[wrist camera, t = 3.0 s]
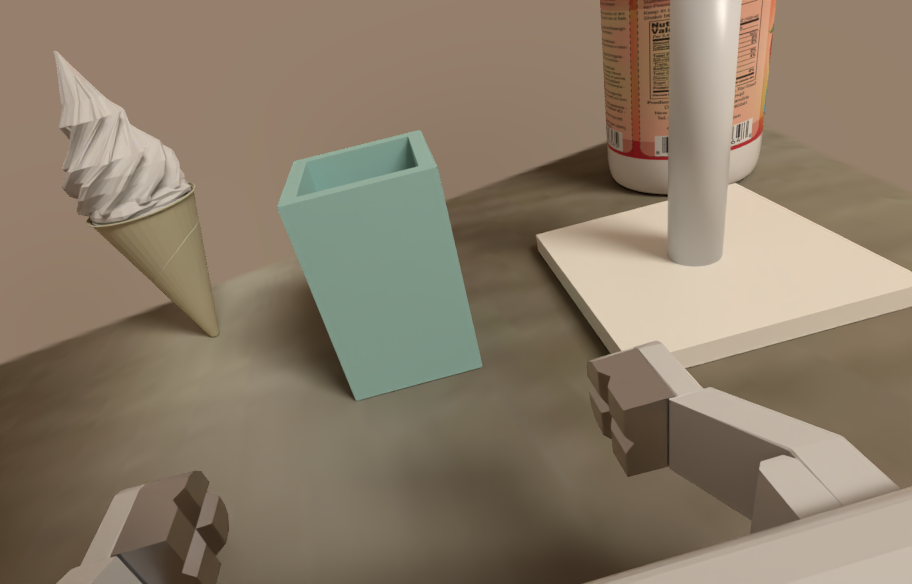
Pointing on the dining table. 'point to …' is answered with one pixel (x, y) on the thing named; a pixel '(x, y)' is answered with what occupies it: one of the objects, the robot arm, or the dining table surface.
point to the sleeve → (382, 263)
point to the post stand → (714, 234)
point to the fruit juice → (647, 89)
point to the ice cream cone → (134, 195)
